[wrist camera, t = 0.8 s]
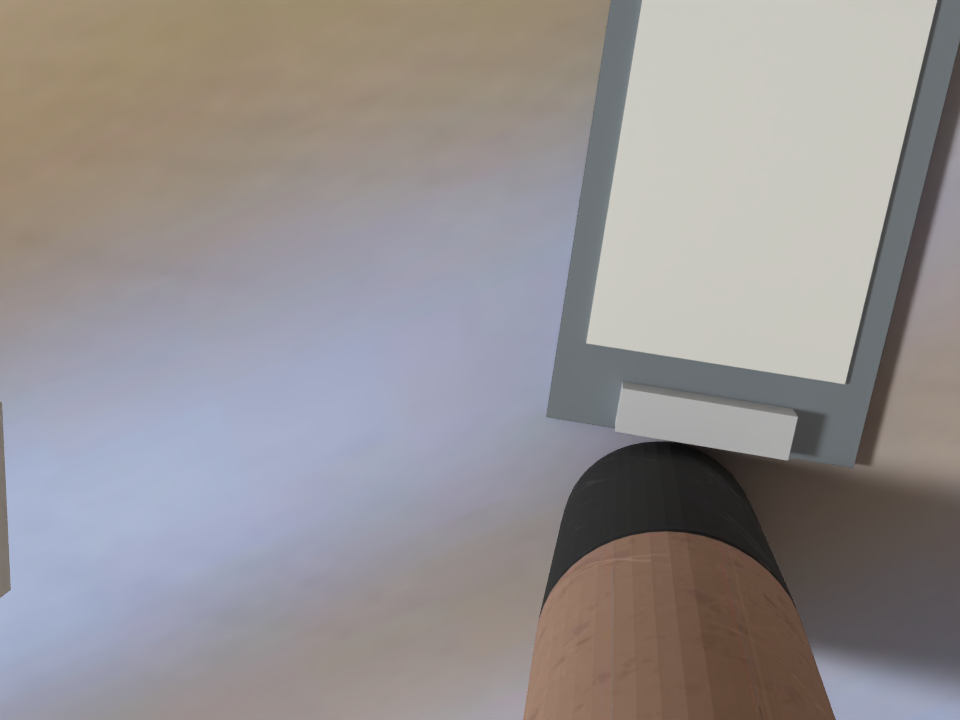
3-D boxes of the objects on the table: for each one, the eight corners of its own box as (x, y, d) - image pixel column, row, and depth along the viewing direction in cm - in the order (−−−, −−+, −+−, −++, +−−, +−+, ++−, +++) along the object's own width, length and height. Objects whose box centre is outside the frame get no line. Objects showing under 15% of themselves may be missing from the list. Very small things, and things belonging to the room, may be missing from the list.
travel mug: (763, 432, 33) (959, 843, 14) (760, 623, 35) (929, 1221, 16) (551, 433, 34) (465, 813, 15) (559, 618, 36) (489, 1167, 17)
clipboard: (628, -114, 30) (629, -127, 28) (982, -77, 29) (1003, -89, 27) (547, 412, 34) (544, 425, 33) (849, 462, 33) (860, 478, 32)
